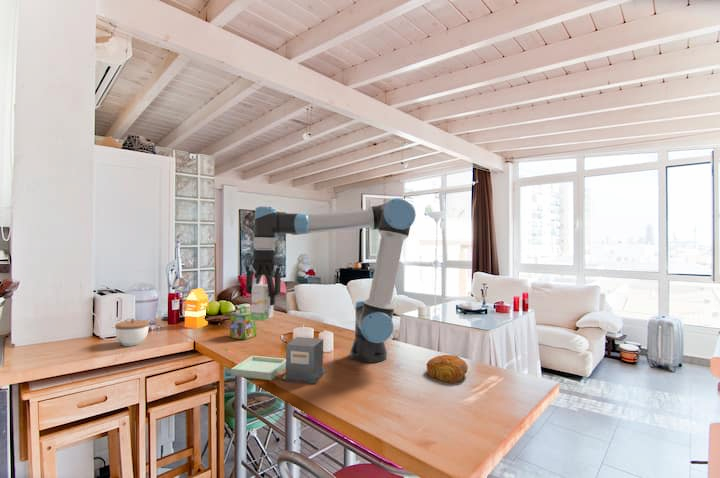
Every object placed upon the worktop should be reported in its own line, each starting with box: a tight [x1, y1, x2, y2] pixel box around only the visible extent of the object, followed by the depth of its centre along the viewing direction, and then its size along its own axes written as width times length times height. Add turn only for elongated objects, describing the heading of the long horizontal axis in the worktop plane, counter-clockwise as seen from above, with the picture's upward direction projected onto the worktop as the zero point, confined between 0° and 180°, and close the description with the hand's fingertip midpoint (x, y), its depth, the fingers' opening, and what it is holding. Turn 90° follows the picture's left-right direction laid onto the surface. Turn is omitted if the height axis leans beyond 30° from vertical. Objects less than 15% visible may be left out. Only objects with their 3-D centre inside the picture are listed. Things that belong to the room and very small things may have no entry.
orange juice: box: [184, 287, 209, 329], centre depth 193 cm, size 8×9×20 cm
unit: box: [281, 336, 327, 385], centre depth 125 cm, size 12×12×12 cm
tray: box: [230, 355, 286, 381], centre depth 130 cm, size 15×15×2 cm
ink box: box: [250, 276, 274, 322], centre depth 130 cm, size 9×5×15 cm, turn 168°
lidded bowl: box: [114, 318, 150, 347], centre depth 158 cm, size 13×13×11 cm
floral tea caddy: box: [229, 305, 257, 341], centre depth 174 cm, size 9×9×15 cm
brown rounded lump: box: [426, 354, 468, 384], centre depth 130 cm, size 14×16×8 cm
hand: (262, 313), depth 130 cm, fingers closed on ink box, 5 cm apart
